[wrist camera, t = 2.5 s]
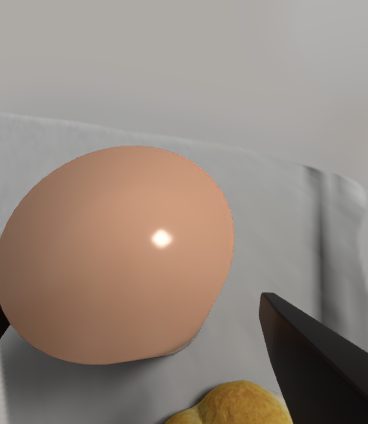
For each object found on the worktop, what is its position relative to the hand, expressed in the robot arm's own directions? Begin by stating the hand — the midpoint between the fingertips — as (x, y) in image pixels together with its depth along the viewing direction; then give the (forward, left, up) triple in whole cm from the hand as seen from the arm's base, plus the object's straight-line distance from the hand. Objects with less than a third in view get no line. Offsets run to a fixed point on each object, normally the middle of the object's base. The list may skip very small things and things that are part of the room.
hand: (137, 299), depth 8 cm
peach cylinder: (+1, 0, -9) cm, 9 cm away
